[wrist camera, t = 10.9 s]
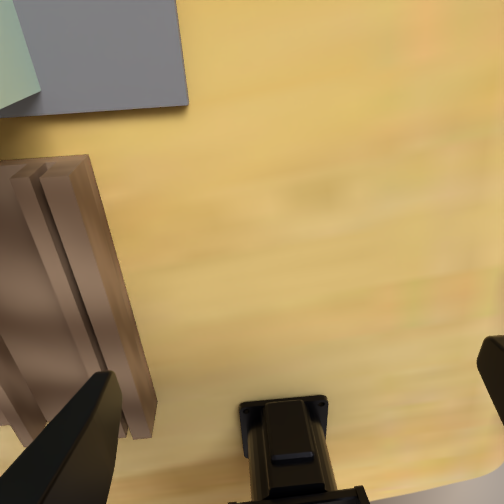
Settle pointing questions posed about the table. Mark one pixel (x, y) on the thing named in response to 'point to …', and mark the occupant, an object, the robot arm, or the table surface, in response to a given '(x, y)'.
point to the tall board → (14, 59)
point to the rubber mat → (101, 56)
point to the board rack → (63, 299)
